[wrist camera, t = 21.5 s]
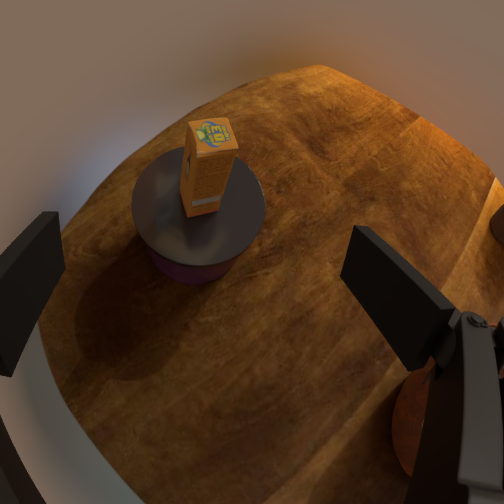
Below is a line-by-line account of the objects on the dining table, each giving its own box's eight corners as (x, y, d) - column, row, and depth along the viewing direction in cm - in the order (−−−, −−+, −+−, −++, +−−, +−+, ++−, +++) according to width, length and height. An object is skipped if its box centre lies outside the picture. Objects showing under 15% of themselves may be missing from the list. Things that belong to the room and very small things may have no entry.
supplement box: (222, 211, 30) (241, 150, 21) (186, 219, 30) (192, 158, 20) (212, 181, 31) (228, 114, 22) (178, 188, 30) (181, 121, 21)
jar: (171, 308, 37) (168, 291, 27) (125, 216, 39) (112, 174, 29) (264, 258, 41) (290, 227, 32) (214, 176, 43) (225, 129, 34)
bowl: (379, 323, 42) (434, 310, 31) (483, 340, 45) (532, 330, 34) (348, 494, 33) (395, 523, 22) (463, 473, 36) (510, 482, 26)
